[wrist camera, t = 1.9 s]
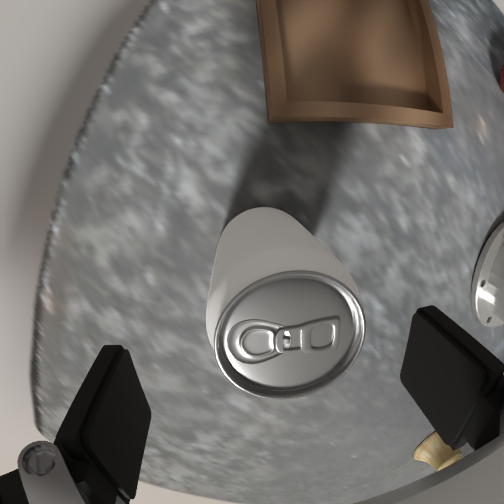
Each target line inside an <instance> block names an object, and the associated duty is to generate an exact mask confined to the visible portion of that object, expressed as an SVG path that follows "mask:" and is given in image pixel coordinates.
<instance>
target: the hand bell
mask: <svg viewBox="0 0 504 504" xmlns="http://www.w3.org/2000/svg"><path fill="white" fill-rule="evenodd" d="M414 458H415V459H416V460H419V461H425V462H427V463H429V464H430V465H431V466H432V467H433V468H434V469H435V470H436V471H439V470H441V469H443V468H445V467H447V466H449V465H451V464H453V463H455V462H456V461H458V460H460V459H461V458H462V453H461V451H460V449H459V448H458V449H457V450H455V451H453V450H452V448H451V447H450V446H449V445H446V444H445V443H444V442H443V441H442V439H441V438H440V436H439V435H438V433H437V432H436V431H435V432H434V433H432V434H431V435H430V436H429V437H427V438H426V439H425V440H424V441H423V442H422V443H421V444H420V445H419V446H418V447H417V449H416V450H415V452H414Z"/></svg>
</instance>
